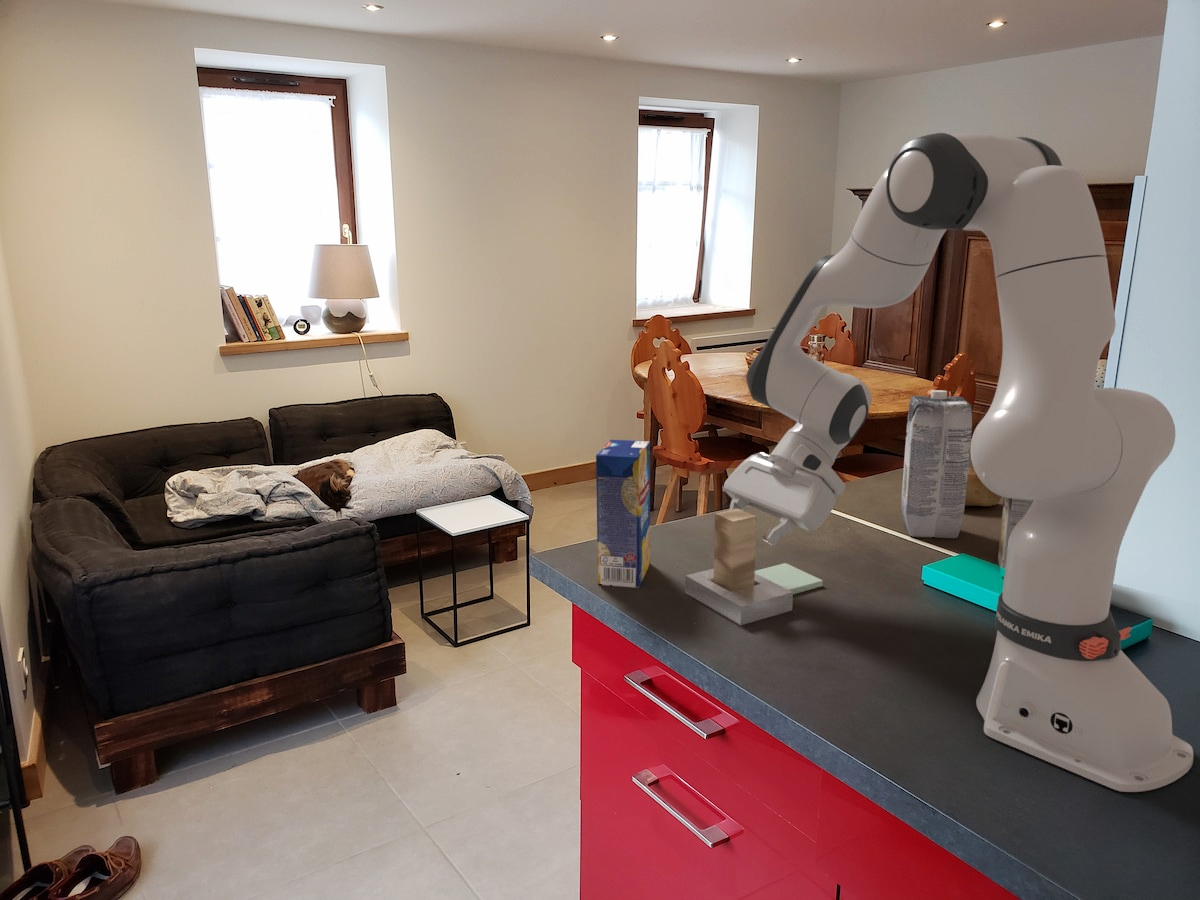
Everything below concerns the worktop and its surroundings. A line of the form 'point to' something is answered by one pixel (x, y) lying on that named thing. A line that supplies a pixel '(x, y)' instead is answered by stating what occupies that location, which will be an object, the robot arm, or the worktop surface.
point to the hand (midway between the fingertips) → (747, 533)
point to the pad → (790, 578)
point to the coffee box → (1010, 523)
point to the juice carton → (936, 465)
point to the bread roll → (978, 492)
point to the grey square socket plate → (740, 597)
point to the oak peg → (734, 549)
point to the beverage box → (623, 512)
